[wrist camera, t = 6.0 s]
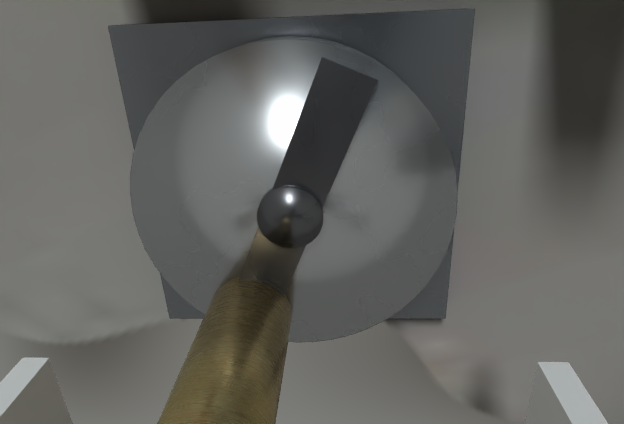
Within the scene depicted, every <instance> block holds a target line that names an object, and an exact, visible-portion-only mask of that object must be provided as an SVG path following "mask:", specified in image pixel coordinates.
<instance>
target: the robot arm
mask: <svg viewBox="0 0 624 424" xmlns="http://www.w3.org/2000/svg"><path fill="white" fill-rule="evenodd" d="M0 424H73V423H72V420H71V418H70V415H69V412H68V409H67V406H66V404H65V401H64V398H63V396H62V393H61V390H60V387H59V384H58V381H57V379H56V376H55V373H54V370H53V367H52V365H51V362H50V359H49V358H22V359H21V360H20V361H19V363H18V364H17V365H16V366H15V367H14V368H13V369H12V370H11V371H10V372H9V374H8V375H7V376H6V377H5V378H4V379H3V380H2V381H1V382H0ZM525 424H608V423H607V421H606V420H605V418H604V417H603V415H602V413H601V412H600V410H599V409H598V407H597V406H596V404H595V403H594V401H593V400H592V398H591V396H590V395H589V393H588V392H587V390H586V389H585V387H584V386H583V384H582V383H581V381H580V379H579V378H578V376H577V375H576V373H575V372H574V370H573V369H572V367H571V365H570V364H569V362H537V367H536V372H535V377H534V381H533V386H532V391H531V396H530V400H529V405H528V410H527V415H526V419H525Z"/></svg>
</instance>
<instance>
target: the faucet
mask: <svg viewBox="0 0 624 424" xmlns="http://www.w3.org/2000/svg"><path fill="white" fill-rule="evenodd" d="M457 195H458V193H457V183H456V173H455V169H454V165H453V161H452V157H451V153H450V150H449V148H448V146H447V143H446V141H445V138H444V136H443V134H442V131H441V130H440V128H439V126H438V125H437V123H436V121H435V120H434V118H433V116H432V115H431V113H430V112H429V110H428V109H427V108H426V107H425V105H424V104H423V103H422V102H421V101H420V99H419V98H418V97H417V96H416V94H415V93H414V92H413V91H412V90H411V89H410V88H409V86H408V85H407V84H406V83H404V82H403V81H402V80H401V79H400V78H399V77H398V76H397V75H396V74H395V73H394V72H393V71H391V70H390V69H389V68H387V67H386V66H384V65H383V64H381V63H380V62H378V61H377V60H376V59H374V58H372V57H370V56H368V55H366V54H364V53H362V52H360V51H358V50H356V49H354V48H351V47H348V46H345V45H343V44H340V43H337V42H334V41H329V40H324V39H318V38H313V37H297V36H285V37H275V38H266V39H262V40H258V41H253V42H249V43H245V44H243V45H240V46H237V47H235V48H232V49H230V50H227V51H225V52H222V53H220V54H217V55H215V56H212V57H211V58H209V59H207V60H205V61H204V62H202V63H200V64H199V65H197V66H195V67H193V68H192V69H191V70H189V71H188V72H187V73H186V74H184V75H183V76H182V77H181V78H179V79H178V80H177V81H176V82H175V83H174V84H173V85H172V86H171V87H170V88H169V89H168V90H167V91H166V92H165V93H164V95H163V96H162V97H161V98H160V99H159V101H158V102H157V104H156V105H155V106H154V108H153V109H152V111H151V112H150V114H149V115H148V117H147V119H146V121H145V123H144V126H143V128H142V130H141V132H140V134H139V137H138V140H137V143H136V147H135V150H134V153H133V159H132V166H131V172H130V196H131V204H132V211H133V216H134V219H135V223H136V227H137V230H138V233H139V236H140V238H141V240H142V243H143V245H144V247H145V250H146V251H147V253H148V255H149V257H150V258H151V260H152V262H153V264H154V265H155V267H156V268H157V269H158V271H159V272H160V273H161V275H162V276H163V277H164V279H165V280H166V281H167V282H168V283H169V285H170V286H171V287H172V288H173V289H174V290H175V291H176V292H177V293H178V294H179V295H180V296H181V297H182V298H184V299H185V300H186V301H187V302H188V303H190V304H191V305H192V306H193V307H195V308H196V309H198V310H199V311H201V312H202V313H204V314H205V316H204V318H203V321H202V323H201V325H200V327H199V330H198V332H197V334H196V337H195V339H194V341H193V344H192V346H191V348H190V350H189V352H188V355H187V357H186V359H185V362H184V364H183V366H182V368H181V371H180V373H179V375H178V378H177V380H176V382H175V384H174V387H173V389H172V391H171V393H170V396H169V398H168V400H167V403H166V405H165V407H164V409H163V412H162V414H161V416H160V418H159V421H158V423H157V424H275V422H276V415H277V409H278V402H279V395H280V389H281V383H282V377H283V370H284V364H285V357H286V350H287V345H288V342H317V341H324V340H332V339H336V338H341V337H345V336H348V335H352V334H355V333H358V332H360V331H363V330H366V329H368V328H370V327H372V326H374V325H376V324H378V323H380V322H382V321H384V320H386V319H388V318H389V317H391V316H392V315H393V314H395V313H396V312H398V311H399V310H401V309H402V308H403V307H404V306H406V305H407V304H408V303H409V302H410V301H411V300H413V299H414V298H415V297H416V296H417V295H418V294H419V292H420V291H421V290H422V289H423V288H424V287H425V286H426V285H427V283H428V282H429V281H430V279H431V278H432V276H433V275H434V273H435V272H436V270H437V269H438V267H439V265H440V263H441V261H442V259H443V257H444V255H445V254H446V252H447V249H448V246H449V243H450V240H451V237H452V234H453V230H454V225H455V220H456V214H457Z"/></svg>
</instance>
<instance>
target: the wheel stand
mask: <svg viewBox="0 0 624 424" xmlns="http://www.w3.org/2000/svg"><path fill="white" fill-rule="evenodd" d="M474 14H475V9H451V10H429V11H408V12H387V13H365V14H344V15H322V16H301V17H279V18H258V19H236V20H215V21H193V22H172V23H151V24H129V25H112V26H108V29H109V33H110V38H111V43H112V48H113V52H114V57H115V62H116V67H117V71H118V76H119V81H120V85H121V90H122V95H123V100H124V104H125V109H126V114H127V119H128V123H129V128H130V133H131V138H132V142H133V147H134V150H135V147H136V143H137V140H138V137H139V134H140V132H141V130H142V128H143V126H144V123H145V121H146V119H147V117H148V115H149V114H150V112H151V111H152V109H153V108H154V106H155V105H156V104H157V102H158V101H159V99H160V98H161V97H162V96H163V95H164V93H165V92H166V91H167V90H168V89H169V88H170V87H171V86H172V85H173V84H174V83H175V82H176V81H177V80H178V79H179V78H181V77H182V76H183V75H184V74H186V73H187V72H188V71H189V70H191V69H192V68H193V67H195V66H197V65H199V64H200V63H202V62H204V61H205V60H207V59H209V58H211V57H212V56H215V55H217V54H220V53H222V52H225V51H227V50H230V49H232V48H235V47H237V46H240V45H243V44H245V43H249V42H253V41H258V40H262V39H266V38H275V37H285V36H297V37H313V38H318V39H324V40H329V41H334V42H337V43H340V44H343V45H345V46H348V47H351V48H354V49H356V50H358V51H360V52H362V53H364V54H366V55H368V56H370V57H372V58H374V59H376V60H377V61H378V62H380V63H381V64H383V65H384V66H386V67H387V68H389V69H390V70H391V71H393V72H394V73H395V74H396V75H397V76H398V77H399V78H400V79H401V80H402V81H403V82H404V83H406V84H407V85H408V86H409V88H410V89H411V90H412V91H413V92H414V93H415V94H416V96H417V97H418V98H419V99H420V101H421V102H422V103H423V104H424V105H425V107H426V108H427V109H428V110H429V112H430V113H431V115H432V116H433V118H434V120H435V121H436V123H437V125H438V126H439V128H440V130H441V131H442V134H443V136H444V138H445V141H446V143H447V146H448V148H449V150H450V153H451V157H452V161H453V165H454V169H455V173H456V183H457V192H458V182H459V171H460V161H461V150H462V140H463V129H464V119H465V108H466V98H467V87H468V77H469V66H470V56H471V45H472V35H473V24H474ZM453 234H454V230H453ZM453 234H452V237H451V240H450V243H449V246H448V249H447V252H446V254H445V255H444V257H443V259H442V261H441V263H440V265H439V267H438V269H437V270H436V272H435V273H434V275H433V276H432V278H431V279H430V281H429V282H428V283H427V285H426V286H425V287H424V288H423V289H422V290H421V291H420V292H419V294H418V295H417V296H416V297H415V298H414V299H413V300H411V301H410V302H409V303H408V304H407V305H406V306H404V307H403V308H402V309H401V310H399V311H398V312H396V313H395V314H393V315H392V316H391V317H389V318H446V308H447V298H448V287H449V277H450V266H451V255H452V245H453ZM160 275H161V273H160ZM161 280H162V284H163V289H164V294H165V298H166V303H167V308H168V313H169V317H170V319H173V318H204V316H205V314H204V313H202V312H201V311H199V310H198V309H196V308H195V307H193V306H192V305H191V304H190V303H188V302H187V301H186V300H185V299H184V298H182V297H181V296H180V295H179V294H178V293H177V292H176V291H175V290H174V289H173V288H172V287H171V286H170V285H169V283H168V282H167V281H166V280H165V279H164V277H163V276H162V275H161Z"/></svg>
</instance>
